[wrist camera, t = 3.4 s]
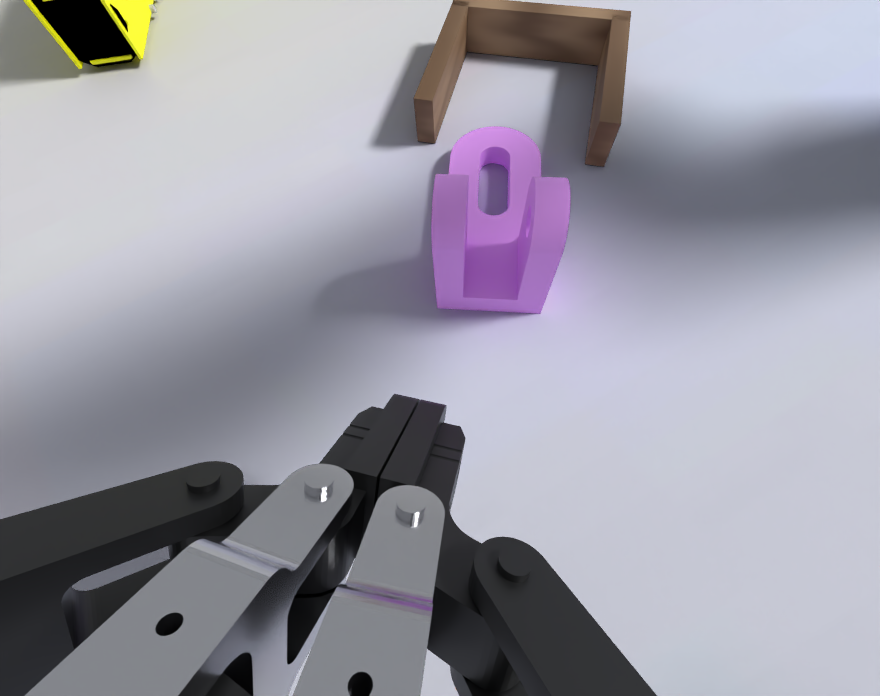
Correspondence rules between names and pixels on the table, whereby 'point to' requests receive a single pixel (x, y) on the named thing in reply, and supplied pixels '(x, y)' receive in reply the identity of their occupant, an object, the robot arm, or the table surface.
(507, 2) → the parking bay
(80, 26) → the yellow toy chassis
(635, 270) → the table surface
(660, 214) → the table surface
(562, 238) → the bracket
